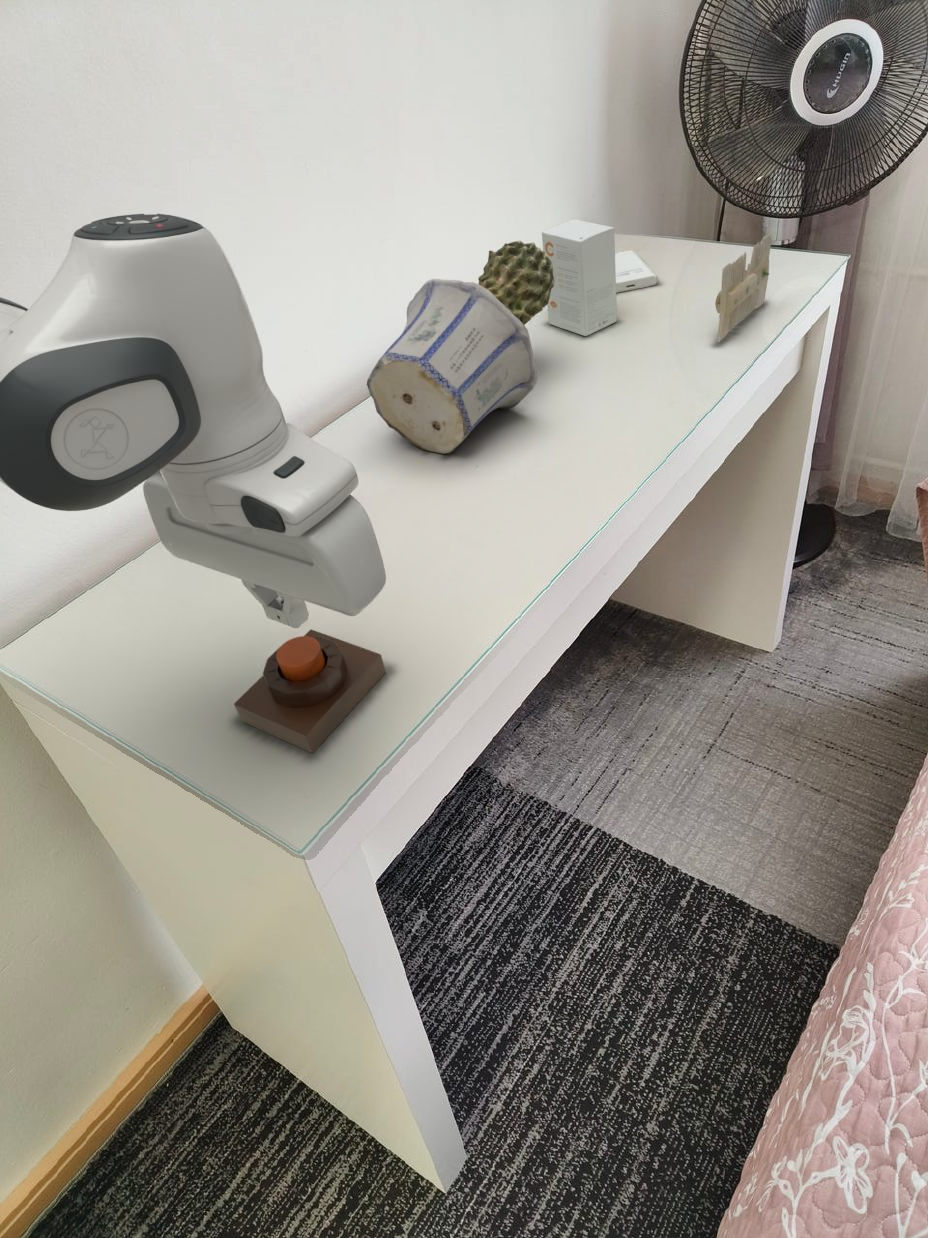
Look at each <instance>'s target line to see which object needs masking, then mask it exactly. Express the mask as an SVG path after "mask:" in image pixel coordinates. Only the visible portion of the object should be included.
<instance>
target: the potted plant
mask: <svg viewBox="0 0 928 1238" xmlns="http://www.w3.org/2000/svg"><path fill="white" fill-rule="evenodd" d="M482 270H483V273H482V274H481V275H479V276H478V278H477V280H478V283H477V282H474V281H463V280H457V279H443V278H442V279H441V278H431V279H428V280H426V282H425V283H424V284H423V285H422V286H421V287H420V289H419V290H417V292H416V293H415V294H414V296H413V298H412V299H411V300H410V301H409V302H408V304H407V307H406V324H405V326H404V329H403V330H402V333H401V334H400V335H399V337H397V339H396V340H395V341H394V342H393V343H392V344H391V345H390V346H389V348H387V350H385V352H384V353H383V355H382V356H381V357H380V358H379V359H378V361H377V363H376V364H375V365H374V367H373V369H372V370H371V372H370V374H369V376H368V378H367V380H366V386H367V389H368V392H369V396H370V397H371V398H372V399H373V403H374V407H375V410H376V413H377V414H378V415H379V417H380V418H382V420H383V421H384V422H385V423H386V425H387V426H388V428H390V429H392V430H394V431H395V432H396V433H397V434H399V435H400V436H401V437H402V438H404V439H405V440H407V441H409V442H410V443H411V444H412V445H414V446H416V447H418V448H419V449H421V450H422V451H425V452H432V453H437V454H444V455H445V454H451V452H453V451H454V450H455V449H456V448H457V447H459V445H461V444H462V443H463V441H464V440H465V439H466V438H467V437H468V436H469V435H470V433H471V432H472V431H473V430H474V429H475V427H477V425H479V424H480V422H481V421H482V420H483V419H485V417H487V416H488V415H489V414H490V413H492V412H493V411H495V410H497V409H502V410H511V409H513V408H514V407H516V406H517V405H518V404H520V402H521V401H523V399H525V397H527V395H528V394H530V392H532V390H533V389H534V388H535V386H536V385H537V382H538V372H537V369H536V364H535V359H534V350H533V346H532V342H531V338H530V333H529V330H528V328H527V327H526V326H525V325H526V324H527V323H528V322H530V321H531V320H532V319H533V318H534V317H535V316H536V315H537V314H539V313H540V312H542V311H543V309H544V308H545V307H546V306H547V304H548V302H549V298H550V293H551V289H552V288H553V287H554V283H555V280H554V277H553V264H552V262H551V261H550V259H549V258H548V256H547V254H546V253H545V252H543V249H541V247H537V246H536V243H535V242H533V241H532V242H527V243H524V242H523V241H521V240H516V241H511V242H509V243H504V245H502V247H501V248H499V249H498V250H496V251H493V250H491V249H490V250H488V257H487V262H486V264H485V265H484V266H483V268H482Z"/></svg>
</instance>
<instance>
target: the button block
mask: <svg viewBox="0 0 928 1238" xmlns="http://www.w3.org/2000/svg"><path fill="white" fill-rule="evenodd" d="M303 636H308V637H312V638H314V639H316V640H317V641H318V642H319V644H320V647H321V650H322V653H323V656H324V659H325V665H324V667H323V669H322V671H321V672H320V673H319V674H318V675H316V676H315V677H312V678H310V679H308V680H306V681H300V682H295V681H290V680H288V679H286V678H285V677H284V675H283V673H282V671H281V668H280V666H279V663H278V661H277V657H276V655H277V651H278V649H279V648H280V647H281V646H282V645H281V646H279V647H278V648H276V650H275V651H274V652H272V654H271V655H270V656H269V657H268V658H267V659H266V662H265V665H264V669H263V672H262V676H261V677H260V678H259V679H258V680H257V681H256V682H255V683H254V684H253V685H251V686H250V688H249V689H247V690H246V691H245V692H244V693H243V694H242V695H241V696H240V697H239V698H238V699H237V700H236V701H235V702H234V703H233V705H234V707H235V710H236V712H237V714H238V715H239V718H240V720H241V722H242V723H244V724H247V725H249V726H251V727H254V728H255V729H257V730H260V731H262V732H264V733H266V734H269V735H271V736H273V737H276V738H278V739H279V740H282V741H284V742H285V743H286V742H287V743H289V744H291V745H293V746H295V747H298V748H299V749H302V750H304V751H307V752H308V753H311V754H314V753H315V752H316V751H317V750H318V749H319V747H320V746H321V745H322V744H323V743H324V742H325V741H326V740H327V738H328V737H329V736H330V735H331V734H332V733H333V732H334V731H335V730H336V729H337V728H338V726H339V725H340V724H341V723H342V722H343V721H344V720H345V719H346V718H347V716H348V715H349V714H351V712H352V711H353V710H354V709H355V708H356V706H357V705H359V703H360V702H361V701H362V700H363V699H364V698H365V697H366V696H367V694H368V693H369V692H370V691H371V690H372V689H373V688H374V686H375V685H376V684H377V683H379V681H380V680H381V679H382V678H383V677H384V675H385V674H386V673H387V671H386V667H385V664H384V661H383V657H382V654H380V653H378V652H376V651H372V650H370V649H368V648H364V647H361V646H359V645H356V644H354V643H350V642H347V641H344V640H342V639H339V638H336V637H333V636H332V635H331V636H330V635H328V634H325V633H322V632H320V631H316V630H315V629H309V630H308V631H307V632H306V633H305V634H304V635H303Z"/></svg>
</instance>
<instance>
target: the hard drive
mask: <svg viewBox="0 0 928 1238" xmlns="http://www.w3.org/2000/svg"><path fill="white" fill-rule="evenodd" d="M615 272H616V294H618V293H622V292H627V291H632V290H638V289H642V288H646V287H652V286H655V285H656V284H657V283H658V276H657V275H656V274H655V273H654V272H653V271H652V269H651V268H650V267H649V266H648V265H647V264H646V263H645V262H644V260H643V259H641V257H640V256H639V255H638V254H637V253H636V252H635V251H634V250H631V249H629V250H624V251H620V252H615Z"/></svg>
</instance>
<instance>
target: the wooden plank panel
mask: <svg viewBox="0 0 928 1238" xmlns="http://www.w3.org/2000/svg"><path fill="white" fill-rule="evenodd" d="M771 246H772V234H771V233H768V234H766V235H765V236H763V237H762V238H761V240H760V242H759V241H757V242H756V244H755V245H754V246H753V249H752V253H751V258H750V262H749V263H748V264H747V251H745V252H744V253H743V254H741V255H740V256H739V257H737V259H735V261H732V262H728V263H727V264H726V265H725V266H724V267H723V268H722V273H721V289H720V291H719V292H718V293H717V294H716V298H715V303H714V304H715V311H716V312H717V314H719V318H718V319H719V320H718V330H717V343H720V342H721V341H722V340H723V339H725V337H726V336H727V335H728V333H729V332H731V331H732V330H733V329H734V328H735V327H736V326H737V325H738V324H740V323H741V322H742V321H743V320H745V319H746V317H748V316H749V315H750V314H751V313H752V312H754V310H758V309H759V307H761V306H763V305H764V303H765V299H766V293H767V287H768V280H769V275H770V255H771ZM746 267H747V269H746Z"/></svg>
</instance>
